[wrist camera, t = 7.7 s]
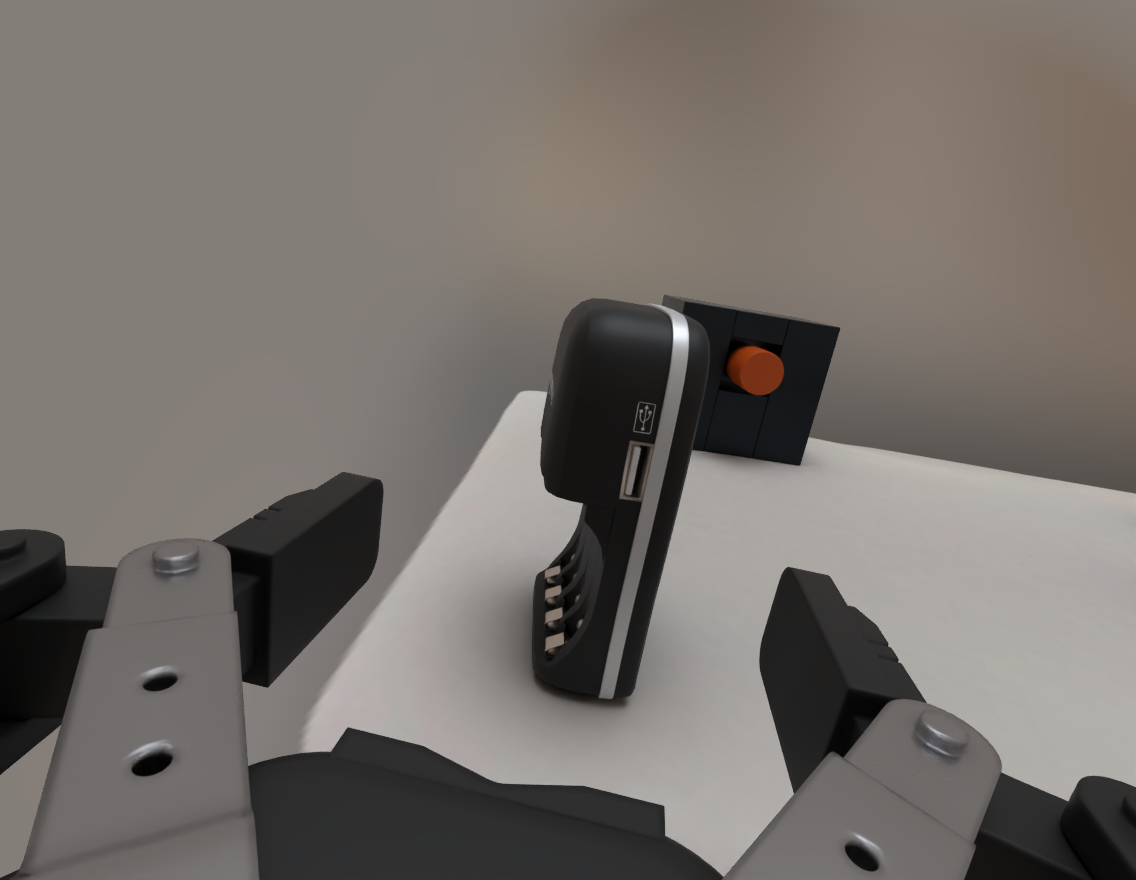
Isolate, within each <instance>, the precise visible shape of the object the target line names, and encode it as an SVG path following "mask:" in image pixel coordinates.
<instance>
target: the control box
mask: <svg viewBox="0 0 1136 880" xmlns="http://www.w3.org/2000/svg"><path fill="white" fill-rule="evenodd" d="M662 306H665V307H667V308H670V309H672V310H675V311H676V312H679V313H682V314H685V315H686V316H688V317H690V318H692V319H694V320H696V321H698V322H699V323H700V324H701V325H702V326H703V327H704V329H705V330H706V332H707V336H708V340H709V344H710V362H709V371H708V378H707V384H706V389H705V394H704V399H703V403H702V408H701V412H700V417H699V421H698V426H697V430H696V435H695V439H694V443H693V448H692V449H696V450H702V451H703V450H704V451H710V452H716V453H723V454H730V455H736V456H743V457H750V458H756V459H763V460H770V461H776V462H783V463H789V464H796V465H800V464H801V461H802V457H803V454H804V451H805V447H806V444H807V440H808V437H809V433H810V430H811V427H812V423H813V420H814V416H815V413H816V410H817V406H818V403H819V399H820V396H821V392H822V389H823V385H824V382H825V379H826V375H827V372H828V369H829V365H830V362H831V358H832V355H833V351H834V348H835V345H836V341H837V337H838V334H839V331H840V328H839V327H835V326H831V325H826V324H822V323H818V322H814V321H809V320H805V319H801V318H796V317H791V316H785V315H779V314H773V313H768V312H762V311H756V310H749V309H744V308H738V307H733V306H727V305H721V304H715V303H710V302H703V301H698V300H692V299H687V298H681V297H674V296H668V295H664V298H663V303H662ZM744 345H754V346H757V347H759V348H761V349H764V350H766V351H769V352H771V353H773V354H775V355H776V356H778V357H779V358H780V360H781V362H782V364H783V367H784V375H783V379H782V381H781V383H780V385H779V386H778V387H777V388H776V389H775V390H774V391H772V392H771V393H769V394H766V395H753V394H751V393H749V392H747V391H746V390H744V389H743V388H741V387H740V386H738V385H737V384H735V383H734V382H732V381H731V380H730V378H729V377H728V375H727V371H726V364H727V360H728V358H729V356H730V354H731V353H732V352H733V351H734V350H735V349H737V348H738V347H741V346H744Z"/></svg>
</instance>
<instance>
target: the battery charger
mask: <svg viewBox="0 0 1136 880" xmlns="http://www.w3.org/2000/svg"><path fill="white" fill-rule="evenodd" d="M709 362H710V344H709V340H708V336H707V332H706V330H705V329H704V327H703V326H702V325H701V324H700V323H699V322H698V321H696V320H694V319H692V318H690V317H688V316H686V315H685V314H682V313H679V312H676V311H675V310H672V309H670V308H667V307H665V306H660V305H656V304H649V303H646V304H644V305H639V304H633V303H627V302H621V301H615V300H609V299H594V298H592V299H589V300H586V301H583V302H581V303H580V304H579V305H577V306H576V307H575V308H573V309H572V310H571V312H570V313H569V315H568V316H567V318H566V319H565V321H564V324H563V327H562V330H561V334H560V337H559V341H558V345H557V350H556V355H555V360H554V364H553V369H552V373H551V378H550V383H549V388H548V393H547V398H546V403H545V408H544V414H543V420H542V425H541V438H542V444H541V462H540V466H541V472H542V475H543V477H544V484H545V488H546V490H547V491H548V492H549V493H551V494H553V495H555V496H556V497H559V498H563V499H566V500H569V501H574V502H579V503H583V506H582V511H581V515H580V519H579V523H578V526H577V528H576V530H575V532H574V534H573V536H572V538H571V539H570V541H569V543H568V544H567V546H566V547H565V548H564V550H563V551H562V552H561V553H560V554H559V555H558V557H557V558H556V559H555V560H554V561H553V562H552V563H551V564H550V566H549V567H548V568H547V569H545V570H543V571H541V572H540V573H538V574H537V576H536V580H535V585H534V597H533V628H532V661H533V667H534V670H535V672H536V673H537V674H538V676H539V677H540V678H541V679H543V680H544V681H545V682H547V683H549V684H551V685H554V686H556V687H559V688H562V689H566V690H570V691H574V692H579V693H588V694H597V696H598V698H604V699H612V698H613V696H614V697H627V696H630V695H631V694H632V693H633V691H634V689H635V684H636V679H637V675H638V671H639V666H640V662H641V658H642V653H643V649H644V644H645V640H646V636H647V631H648V627H649V623H650V619H651V614H652V610H653V606H654V602H655V598H656V594H657V590H658V586H659V583H660V579H661V575H662V571H663V567H664V563H665V559H666V555H667V551H668V547H669V543H670V539H671V535H672V531H673V527H674V523H675V519H676V515H677V511H678V507H679V503H680V499H681V495H682V490H683V486H684V482H685V478H686V474H687V469H688V465H689V461H690V456H691V452H692V448H693V443H694V439H695V435H696V430H697V426H698V421H699V417H700V412H701V408H702V403H703V399H704V394H705V389H706V384H707V378H708V371H709Z"/></svg>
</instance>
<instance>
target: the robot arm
mask: <svg viewBox="0 0 1136 880" xmlns="http://www.w3.org/2000/svg"><path fill="white" fill-rule="evenodd" d="M382 503H383V484H382V482H381V481H380V480H379V479H375V478H370V477H365V476H361V475H356V474H351V473H346V472H342V473H340V474H338V475H337V476H335V477H334V478H332V479H330V480H329V481H327V482H326V483H324V484H323V485H321V486H319V487H318V488H316V489H315V490H313V489H310V490H307V491H303V492H300V493H296V494H293V495H289V496H286V497H284V498H283V499H281V500H279V501H278V502H276V503H274V504H273V505H271V506H269V508H268V509H264V510H263V511H261V512H259V513H258V514H256V515H255V516H254V518H253V519H252V518H249V519H248V520H246V521H245V522H243V523H241V524H239V525H238V526H236V527H235V528H233V529H231V530H230V531H228V532H226V533H225V534H223V535H221V536H220V537H218V538H216V539H215V540H213V541H208V540H202V539H172V540H166V541H160V542H156V543H151V544H148V545H145V546H142V547H140V548H138V549H135V550H133V551H132V552H130V553H128V554H127V555H126V556H124V557H123V558H122V559H121V560H120V562H119V564H118V567H117V568H115V567H88V566H66V560H65V546H64V541H63V539H62V538H61V537H59V536H58V535H56V534H53V533H50V532H46V531H40V530H28V529H27V530H25V529H20V530H18V529H17V530H4V531H0V775H1V774H2V773H3V772H4V771H5V770H6V769H8V768H9V767H10V766H11V765H13V764H14V763H15V762H16V761H18V760H19V759H20V758H21V757H22V756H24V755H25V754H26V753H27V752H28V751H30V750H31V749H32V748H33V747H34V746H36V745H37V744H38V743H39V742H41V741H42V740H43V739H44V738H46V737H47V736H48V735H49V734H50V733H51V732H53V731H54V730H55V729H56V728H58V727H59V726H60V725H61V728H60V731H59V735H58V738H57V742H56V745H55V749H54V753H53V757H52V760H51V763H50V767H49V771H48V774H47V778H46V781H45V785H44V788H43V792H42V796H41V799H40V803H39V806H38V810H37V814H36V817H35V821H34V825H33V828H32V832H31V835H30V839H29V842H28V846H27V849H26V853H25V856H24V860H23V862H22V865H21V867H20V869H19V870H17V871H15V872H12V873H10V874H8V875H6V876H4V877H1V878H0V880H1136V787H1134V786H1131V785H1129V784H1126V783H1124V782H1121V781H1117V780H1114V779H1111V778H1106V777H1101V776H1087V777H1084V778H1082V779H1081V780H1080V781H1079V782H1078V784H1077V786H1076V788H1075V790H1074V791H1073V793H1072V795H1071V797H1070V799H1069V801H1066V800H1063V799H1061V798H1059V797H1056V796H1054V795H1052V794H1049V793H1047V792H1045V791H1042V790H1040V789H1038V788H1035V787H1033V786H1031V785H1028V784H1026V783H1024V782H1021V781H1019V780H1017V779H1014V778H1012V777H1010V776H1008V775H1006V774H1003V773H1002V772H1001V769H1002V764H1001V760H1000V757H999V755H998V753H997V752H996V750H995V749H994V747H993V746H992V745H991V744H990V743H989V742H988V740H987V739H986V738H984V737H983V736H982V735H981V734H980V733H979V732H978V731H977V730H975V729H974V728H973V727H972V726H970V725H969V724H967V723H966V722H964V721H963V720H961V719H959V718H958V717H956V716H954V715H953V714H951V713H949V712H947V711H945V710H943V709H940V708H938V707H936V706H933V705H930V704H927V702H926V701H925V699H924V698H923V696H922V695H921V693H920V692H919V690H918V689H917V687H916V685H915V684H914V682H913V681H912V679H911V678H910V676H909V675H908V673H907V672H906V670H905V668H904V667H903V665H902V664H901V663H898V660H899V659H898V658H897V656H896V654H895V653H894V651H893V650H892V648H891V647H888V642H887V641H886V639H885V637H884V636H883V634H882V633H881V631H880V630H879V628H878V627H877V625H876V624H874V623H873V622H872V621H871V620H870V619H868V618H867V617H866V616H865V615H864V614H863V613H861V612H860V611H859V610H858V609H857V608H855V607H852V606H847V604H846V602H845V601H844V599H843V597H842V596H841V594H840V592H839V591H838V589H837V587H836V586H835V584H834V582H833V581H832V579H831V577H830V576H828V575H824V574H819V573H815V572H810V571H805V570H801V569H796V568H791V567H787V568H786V569H785V570H784V571H783V573H782V575H781V578H780V581H779V584H778V587H777V591H776V594H775V597H774V601H773V604H772V607H771V611H770V614H769V617H768V621H767V624H766V627H765V631H764V634H763V638H762V642H761V647H760V658H759V663H760V672H761V676H762V680H763V683H764V687H765V691H766V694H767V698H768V701H769V705H770V709H771V712H772V716H773V719H774V723H775V727H776V730H777V734H778V738H779V741H780V745H781V748H782V752H783V756H784V759H785V763H786V767H787V770H788V774H789V777H790V781H791V785H792V788H793V792H794V795H793V796H792V797H791V799H790V800H789V801H788V802H787V803H786V805H785V806H784V807H783V808H782V809H781V810H780V812H779V813H778V814H777V815H776V816H775V818H774V819H773V820H772V821H771V822H770V823H769V825H768V826H767V827H766V828H765V829H764V831H763V832H762V833H761V834H760V835H759V836H758V838H757V839H756V840H755V841H754V842H753V844H752V845H751V846H750V847H749V848H748V849H747V851H746V852H745V853H744V854H743V855H742V857H741V858H740V859H739V860H738V861H737V862H736V864H735V865H734V866H733V867H732V868H731V870H730V871H729V872H728V873H727V874H726V875H725V877H723V876H722V875H721V874H720V873H719V872H718V871H716V870H715V869H714V868H713V867H712V866H711V865H709V864H708V863H707V862H706V861H704V860H703V859H702V858H700V857H699V856H698V855H696V854H695V853H694V852H692V851H690V850H689V849H687V848H686V847H684V846H683V845H681V844H679V843H678V842H676V841H674V840H672V839H670V838H668V837H666V836H665V813H664V806H662V805H658V804H654V803H650V802H646V801H642V800H638V799H634V798H630V797H626V796H622V795H618V794H614V793H610V792H606V791H602V790H598V789H594V788H590V787H586V786H563V785H525V784H501V783H497V782H493V781H491V780H489V779H487V778H485V777H483V776H481V775H479V774H477V773H475V772H473V771H471V770H469V769H467V768H465V767H463V766H461V765H459V764H457V763H455V762H453V761H451V760H449V759H447V758H445V757H443V756H441V755H440V754H438V753H436V752H434V751H432V750H430V749H428V748H426V747H424V746H421V745H417V744H413V743H409V742H405V741H401V740H397V739H393V738H389V737H385V736H381V735H377V734H372V733H368V732H364V731H360V730H356V729H352V728H347V729H346V731H345V732H344V733H343V735H342V736H341V738H340V739H339V741H338V742H337V744H336V745H335V747H334V748H333V750H332V751H331V752H311V753H300V754H294V755H288V756H282V757H277V758H274V759H270V760H266V761H262V762H258V763H256V764H253V765H250V766H248V758H247V744H246V730H245V716H244V702H243V690H242V681H243V682H247V683H251V684H255V685H259V686H263V687H267V688H268V687H269V686H270V685H271V683H273V682H274V680H275V679H276V678H277V677H278V676H279V675H280V674H281V673H282V672H283V671H284V670H285V669H286V668H287V667H288V665H289V664H290V663H291V662H292V661H293V660H294V659H295V658H296V657H297V656H298V655H299V654H300V653H301V652H302V650H303V649H304V648H305V647H306V646H307V645H308V644H309V643H310V642H311V641H312V640H313V639H314V638H315V637H316V635H317V634H318V633H319V632H320V631H321V630H322V629H323V628H324V627H325V626H326V625H327V624H328V623H329V621H330V620H331V619H332V618H333V617H334V616H335V615H336V614H337V613H338V612H339V611H340V610H341V608H343V606H344V605H345V604H346V603H347V602H348V601H349V600H350V599H351V598H352V597H353V596H354V595H355V593H357V591H358V590H359V589H360V588H361V587H362V586H363V585H364V584H365V583H366V582H367V580H368V579H369V577H370V576H371V574H372V571H373V569H374V567H375V563H376V560H377V556H378V549H379V538H380V526H381V515H382Z"/></svg>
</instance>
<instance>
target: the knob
mask: <svg viewBox="0 0 1136 880" xmlns="http://www.w3.org/2000/svg"><path fill="white" fill-rule="evenodd" d="M726 371H727V375H728V377H729V378H730V380H731V381H732V382H734V383H735V384H737V385H738V386H740V387H741V388H743V389H744V390H746V391H747V392H749V393H751V394H753V395H766V394H769V393H771V392H772V391H774V390H775V389H776V388H777V387H778V386H779V385H780V383H781V381H782V379H783V375H784V367H783V364H782V362H781V360H780V358H779V357H778V356H776V355H775V354H773V353H771V352H769V351H766V350H764V349H761V348H759V347H757V346H754V345H744V346H741V347H738V348H737V349H735V350H734V351H733V352H732V353H731V354H730V356H729V358H728V360H727V364H726Z"/></svg>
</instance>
